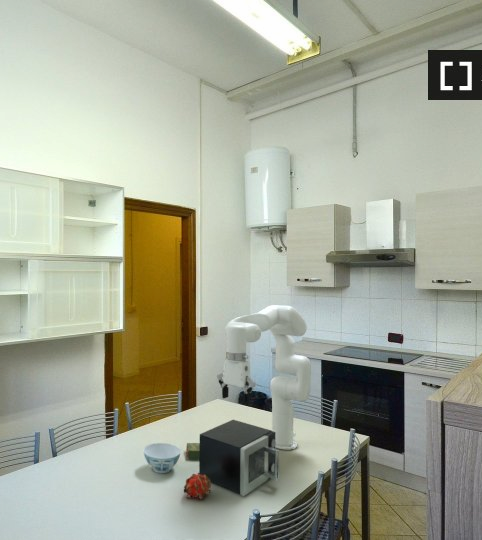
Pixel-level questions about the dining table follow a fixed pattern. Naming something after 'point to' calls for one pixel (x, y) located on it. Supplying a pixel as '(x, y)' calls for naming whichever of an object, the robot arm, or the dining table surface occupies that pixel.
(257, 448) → the microwave door
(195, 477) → the dragon fruit
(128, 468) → the dining table surface
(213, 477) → the microwave
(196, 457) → the carton
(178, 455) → the chinaware
